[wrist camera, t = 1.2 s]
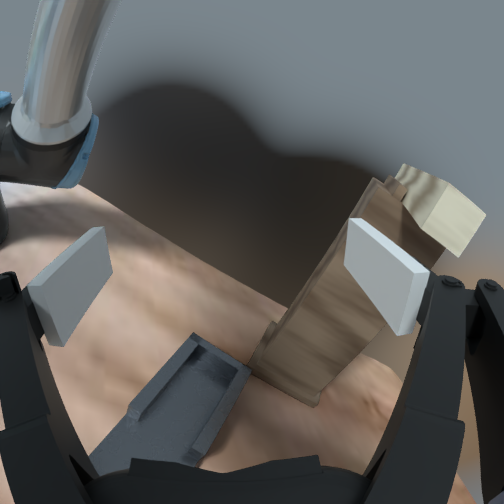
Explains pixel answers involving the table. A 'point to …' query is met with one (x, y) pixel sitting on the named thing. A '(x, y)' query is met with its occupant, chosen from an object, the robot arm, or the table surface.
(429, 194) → the ash bar
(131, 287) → the table surface
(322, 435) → the table surface
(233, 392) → the channel rail
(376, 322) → the walnut stand
